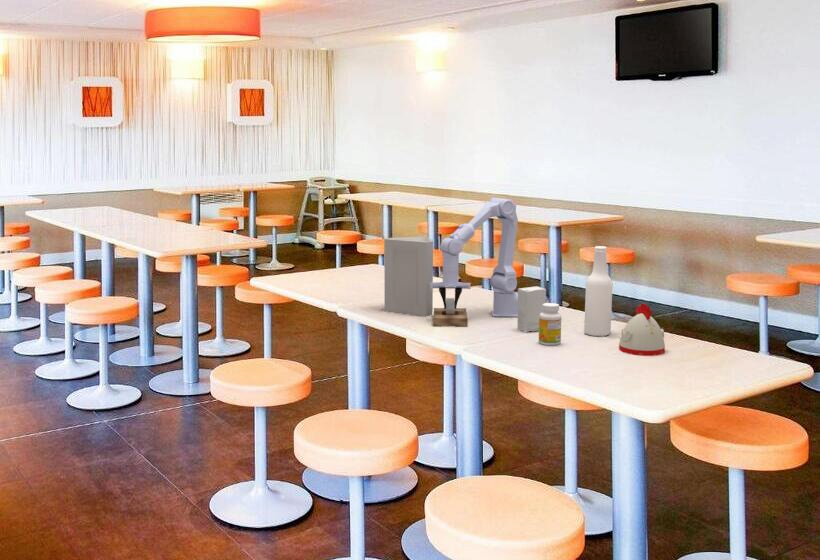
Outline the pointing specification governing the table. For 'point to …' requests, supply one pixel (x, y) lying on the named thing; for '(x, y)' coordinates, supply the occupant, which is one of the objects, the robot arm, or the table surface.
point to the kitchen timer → (642, 334)
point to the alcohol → (598, 297)
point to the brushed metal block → (450, 306)
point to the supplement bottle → (550, 324)
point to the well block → (450, 317)
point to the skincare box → (530, 307)
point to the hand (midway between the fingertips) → (450, 308)
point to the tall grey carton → (408, 275)
